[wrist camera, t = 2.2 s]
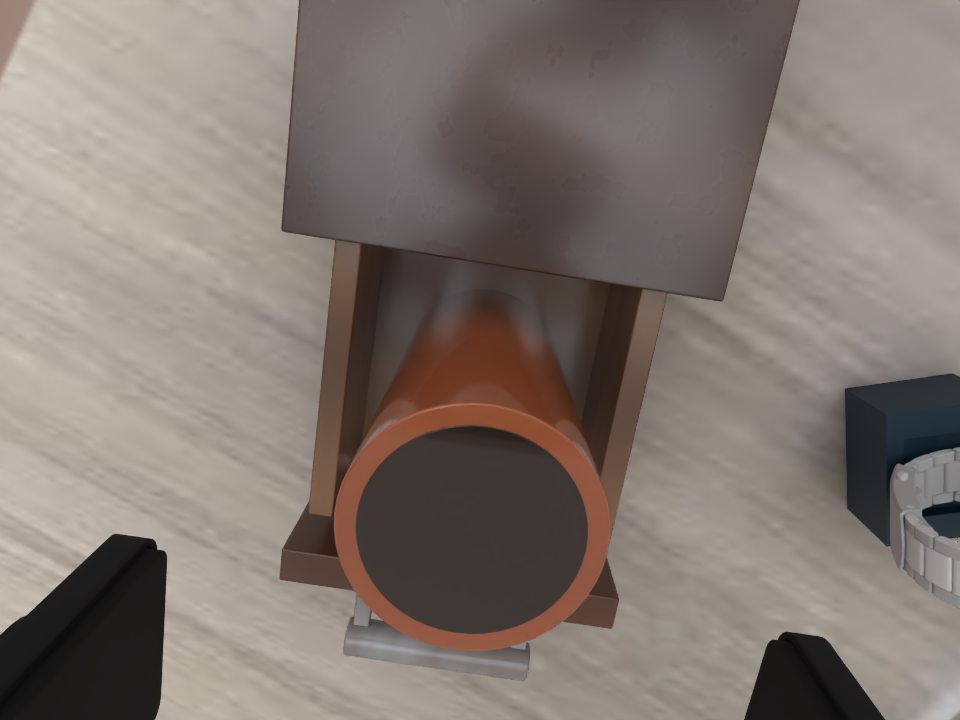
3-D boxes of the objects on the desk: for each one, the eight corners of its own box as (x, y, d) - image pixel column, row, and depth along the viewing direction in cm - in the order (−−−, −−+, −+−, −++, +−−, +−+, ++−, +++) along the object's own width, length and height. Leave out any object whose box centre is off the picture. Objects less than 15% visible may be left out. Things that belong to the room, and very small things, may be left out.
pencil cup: (419, 278, 26) (348, 382, 13) (568, 301, 26) (638, 427, 13) (400, 418, 27) (320, 631, 15) (541, 439, 27) (580, 670, 15)
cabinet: (658, 264, 27) (723, 301, 20) (341, 213, 27) (280, 231, 19) (754, -162, 24) (883, -326, 16) (386, -226, 23) (331, -426, 15)
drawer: (569, 620, 31) (587, 731, 25) (314, 583, 31) (269, 686, 24) (658, 217, 26) (708, 232, 20) (357, 168, 26) (315, 169, 20)
